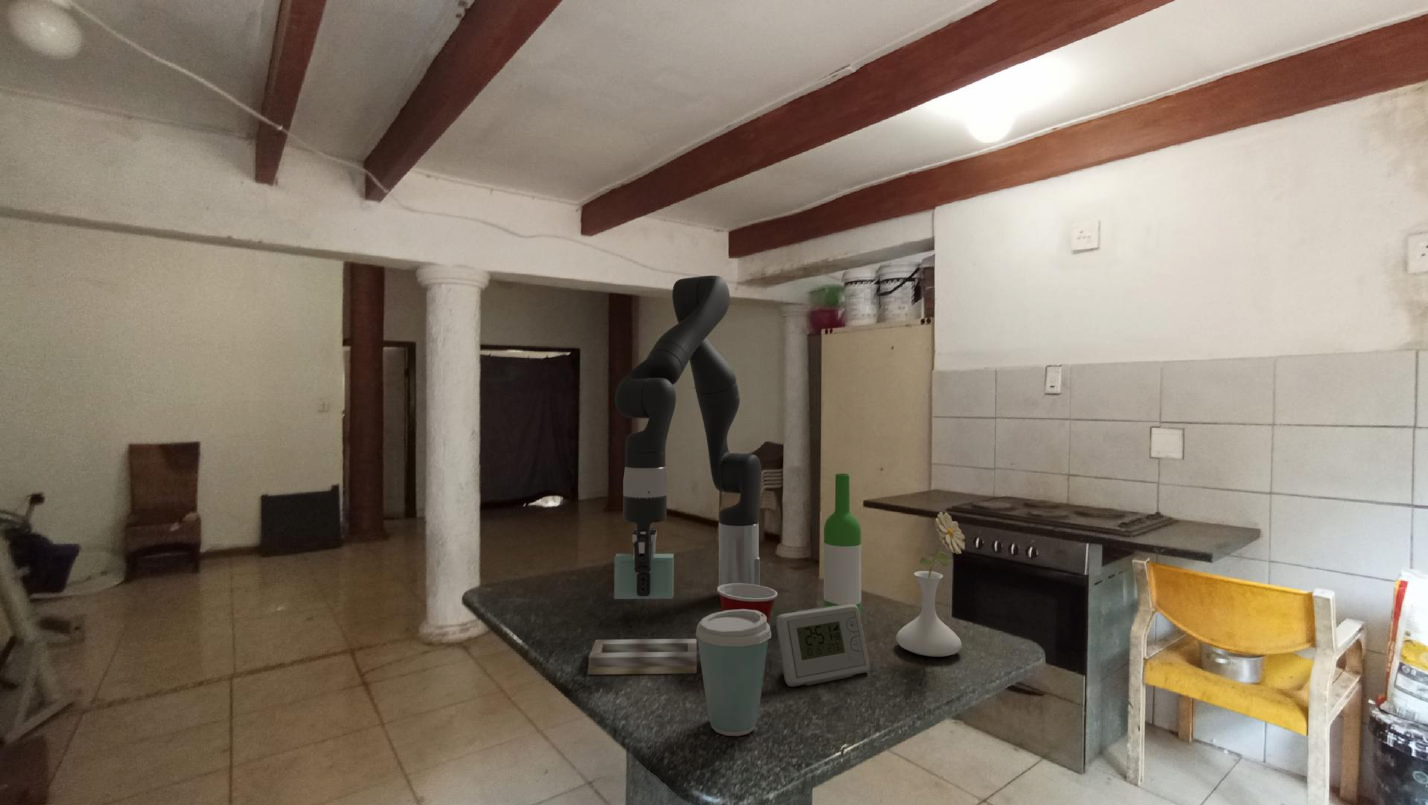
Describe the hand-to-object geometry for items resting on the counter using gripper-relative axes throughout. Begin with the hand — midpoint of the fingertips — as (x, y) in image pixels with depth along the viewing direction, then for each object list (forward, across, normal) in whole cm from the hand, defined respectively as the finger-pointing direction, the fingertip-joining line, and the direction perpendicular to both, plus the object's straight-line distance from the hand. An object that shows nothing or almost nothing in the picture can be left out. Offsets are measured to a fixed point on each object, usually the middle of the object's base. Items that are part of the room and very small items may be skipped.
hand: (644, 591), depth 110 cm
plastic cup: (+12, +2, -18) cm, 22 cm away
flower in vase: (+12, +4, -52) cm, 54 cm away
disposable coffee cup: (+12, -22, -14) cm, 29 cm away
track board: (+12, 0, 0) cm, 12 cm away
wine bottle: (+12, +23, -40) cm, 48 cm away
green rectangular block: (+1, 0, 0) cm, 1 cm away
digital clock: (+12, -6, -30) cm, 33 cm away
